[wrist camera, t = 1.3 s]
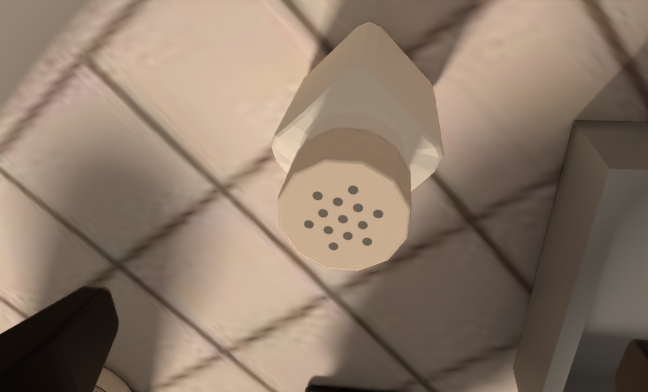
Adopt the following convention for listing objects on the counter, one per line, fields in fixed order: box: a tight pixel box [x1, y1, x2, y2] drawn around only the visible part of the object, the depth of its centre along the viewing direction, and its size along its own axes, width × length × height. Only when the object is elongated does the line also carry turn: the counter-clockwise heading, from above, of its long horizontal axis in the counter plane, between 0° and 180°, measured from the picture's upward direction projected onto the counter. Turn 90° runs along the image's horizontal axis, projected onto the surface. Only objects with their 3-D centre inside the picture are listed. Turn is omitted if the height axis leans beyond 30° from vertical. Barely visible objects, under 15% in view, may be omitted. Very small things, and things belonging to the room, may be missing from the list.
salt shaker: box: [271, 22, 444, 271], centre depth 16 cm, size 4×4×10 cm
